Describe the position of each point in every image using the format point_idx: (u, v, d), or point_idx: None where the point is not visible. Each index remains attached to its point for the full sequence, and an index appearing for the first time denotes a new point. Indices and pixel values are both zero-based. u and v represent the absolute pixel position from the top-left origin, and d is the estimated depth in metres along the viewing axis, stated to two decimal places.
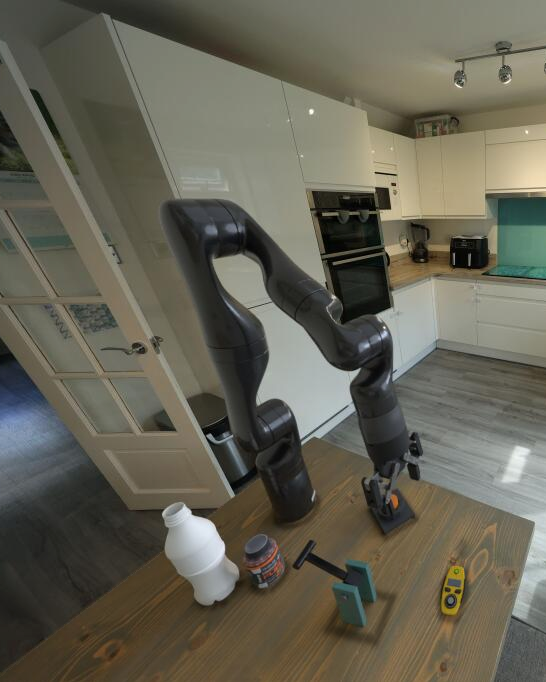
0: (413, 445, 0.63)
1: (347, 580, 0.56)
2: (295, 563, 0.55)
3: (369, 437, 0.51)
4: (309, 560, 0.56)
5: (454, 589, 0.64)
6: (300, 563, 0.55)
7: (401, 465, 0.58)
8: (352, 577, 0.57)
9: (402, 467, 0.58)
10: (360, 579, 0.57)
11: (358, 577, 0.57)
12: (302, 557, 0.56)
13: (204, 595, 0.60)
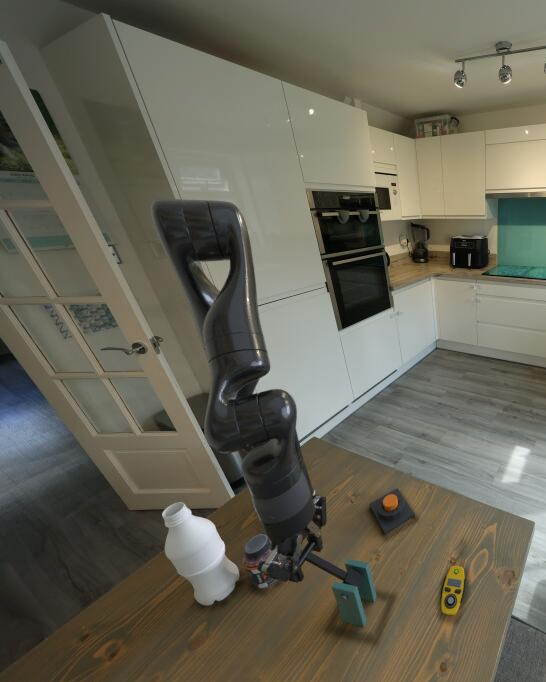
0: (318, 512, 0.59)
1: (347, 580, 0.56)
2: None
3: (265, 517, 0.47)
4: (309, 560, 0.56)
5: (454, 589, 0.64)
6: (300, 563, 0.55)
7: (304, 533, 0.55)
8: (352, 577, 0.57)
9: (305, 535, 0.55)
10: (360, 579, 0.57)
11: (358, 577, 0.57)
12: (302, 557, 0.56)
13: (204, 595, 0.60)
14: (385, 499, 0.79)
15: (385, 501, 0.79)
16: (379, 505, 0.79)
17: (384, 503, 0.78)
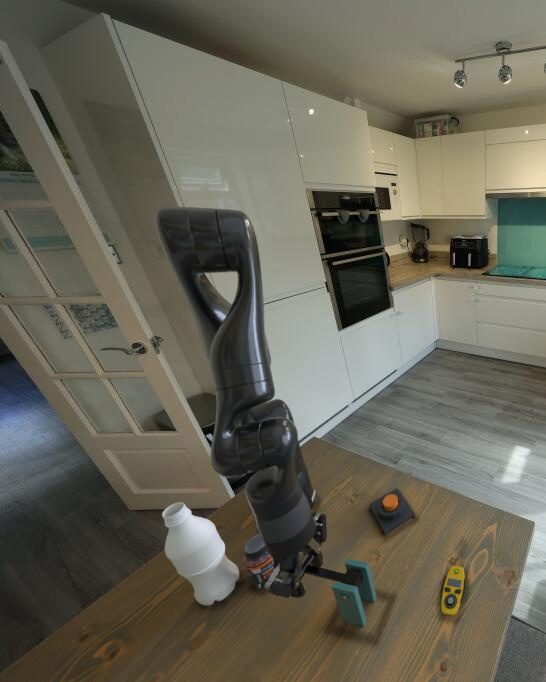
0: (318, 529, 0.61)
1: (344, 580, 0.56)
2: None
3: (268, 538, 0.49)
4: (308, 572, 0.58)
5: (454, 589, 0.64)
6: None
7: (305, 550, 0.57)
8: (349, 576, 0.57)
9: (306, 552, 0.57)
10: (357, 576, 0.57)
11: (355, 575, 0.57)
12: None
13: (204, 595, 0.60)
14: (385, 499, 0.79)
15: (385, 501, 0.79)
16: (379, 505, 0.79)
17: (384, 503, 0.78)
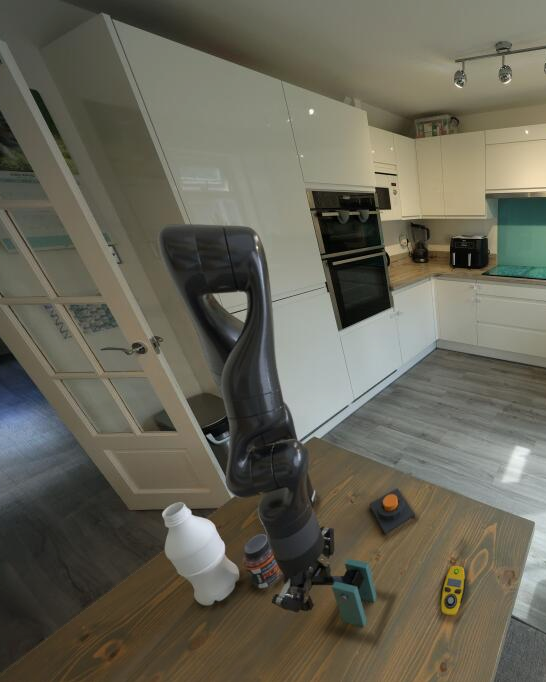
0: (326, 543, 0.63)
1: (343, 581, 0.56)
2: None
3: (279, 555, 0.51)
4: (314, 582, 0.59)
5: (454, 589, 0.64)
6: None
7: (314, 565, 0.59)
8: (347, 576, 0.57)
9: (315, 566, 0.59)
10: (354, 575, 0.57)
11: (353, 574, 0.57)
12: None
13: (204, 595, 0.60)
14: (385, 499, 0.79)
15: (385, 501, 0.79)
16: (379, 505, 0.79)
17: (384, 503, 0.78)
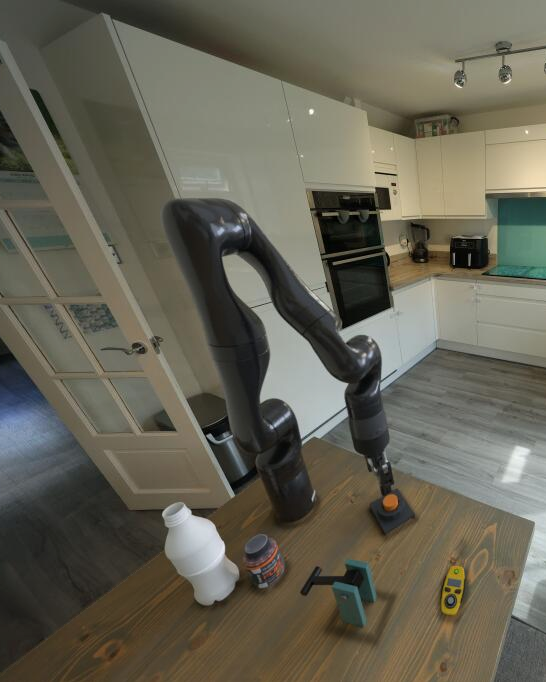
0: None
1: (343, 581, 0.56)
2: (301, 590, 0.58)
3: (376, 432, 0.63)
4: (314, 582, 0.59)
5: (454, 589, 0.64)
6: (304, 588, 0.58)
7: None
8: (347, 576, 0.57)
9: None
10: (354, 575, 0.57)
11: (353, 574, 0.57)
12: (306, 582, 0.59)
13: (204, 595, 0.60)
14: (385, 499, 0.79)
15: (385, 501, 0.79)
16: (379, 505, 0.79)
17: (384, 503, 0.78)
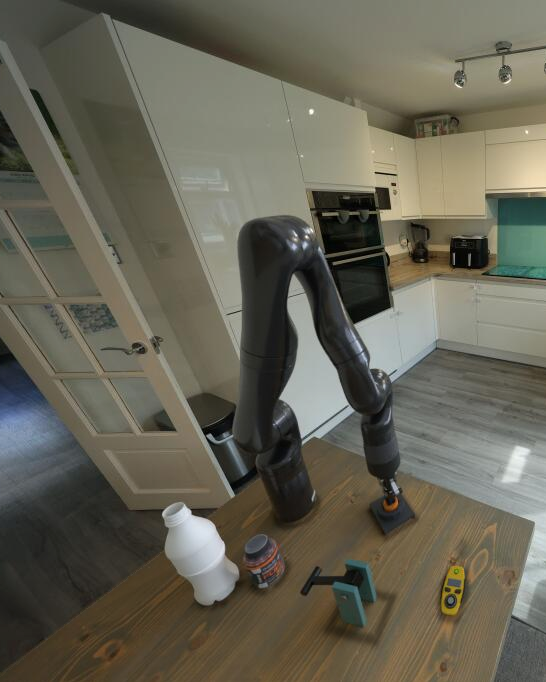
0: None
1: (343, 581, 0.56)
2: (301, 590, 0.58)
3: (389, 456, 0.69)
4: (314, 582, 0.59)
5: (454, 589, 0.64)
6: (304, 588, 0.58)
7: None
8: (347, 576, 0.57)
9: None
10: (354, 575, 0.57)
11: (353, 574, 0.57)
12: (306, 582, 0.59)
13: (204, 595, 0.60)
14: None
15: (385, 503, 0.79)
16: (379, 505, 0.79)
17: (384, 505, 0.78)
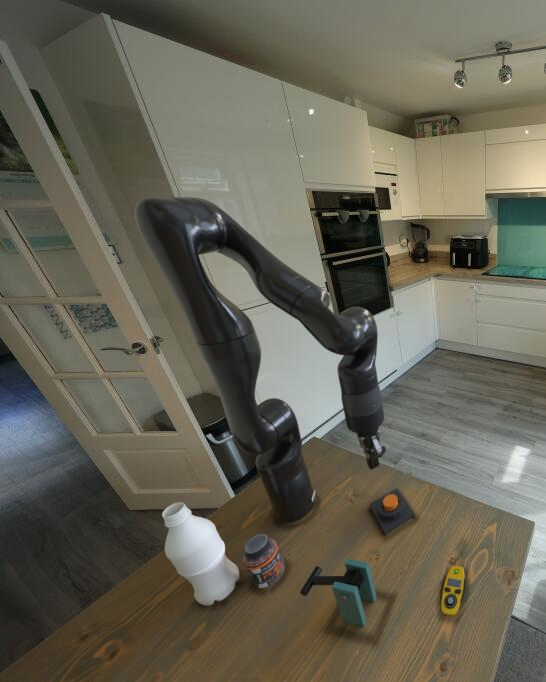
0: None
1: (343, 581, 0.56)
2: (301, 590, 0.58)
3: (370, 408, 0.61)
4: (314, 582, 0.59)
5: (454, 589, 0.64)
6: (304, 588, 0.58)
7: None
8: (347, 576, 0.57)
9: None
10: (354, 575, 0.57)
11: (353, 574, 0.57)
12: (306, 582, 0.59)
13: (204, 595, 0.60)
14: (385, 499, 0.79)
15: (385, 501, 0.79)
16: (379, 505, 0.79)
17: (384, 503, 0.78)
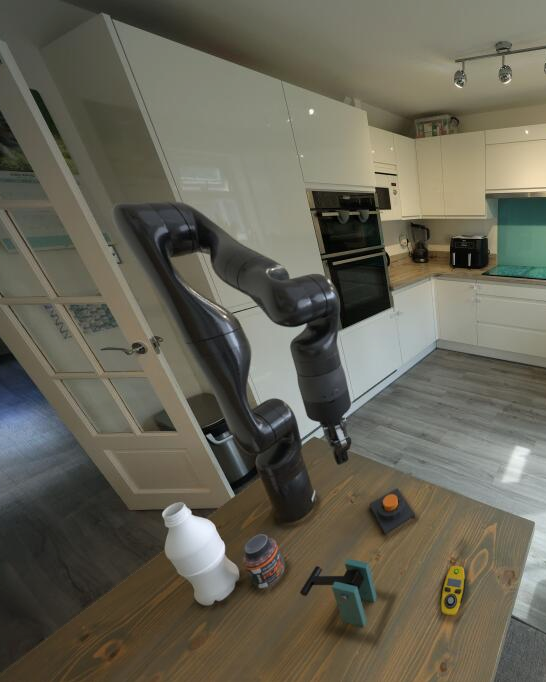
0: None
1: (343, 581, 0.56)
2: (301, 590, 0.58)
3: (331, 393, 0.53)
4: (314, 582, 0.59)
5: (454, 589, 0.64)
6: (304, 588, 0.58)
7: None
8: (347, 576, 0.57)
9: None
10: (354, 575, 0.57)
11: (353, 574, 0.57)
12: (306, 582, 0.59)
13: (204, 595, 0.60)
14: (385, 499, 0.79)
15: (385, 501, 0.79)
16: (379, 505, 0.79)
17: (384, 503, 0.78)
